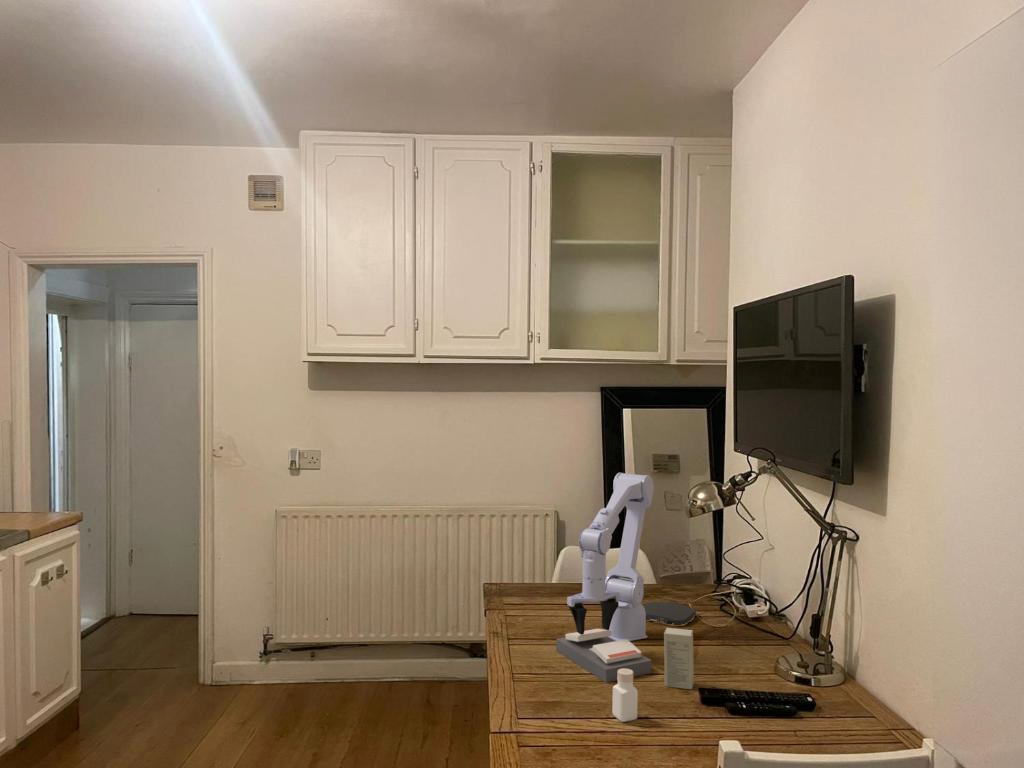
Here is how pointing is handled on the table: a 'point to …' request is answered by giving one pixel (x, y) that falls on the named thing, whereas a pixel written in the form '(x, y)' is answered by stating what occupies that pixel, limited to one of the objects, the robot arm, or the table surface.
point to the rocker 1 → (588, 635)
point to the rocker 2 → (616, 651)
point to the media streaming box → (669, 612)
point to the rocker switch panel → (594, 664)
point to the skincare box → (678, 658)
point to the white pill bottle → (625, 696)
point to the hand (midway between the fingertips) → (593, 631)
